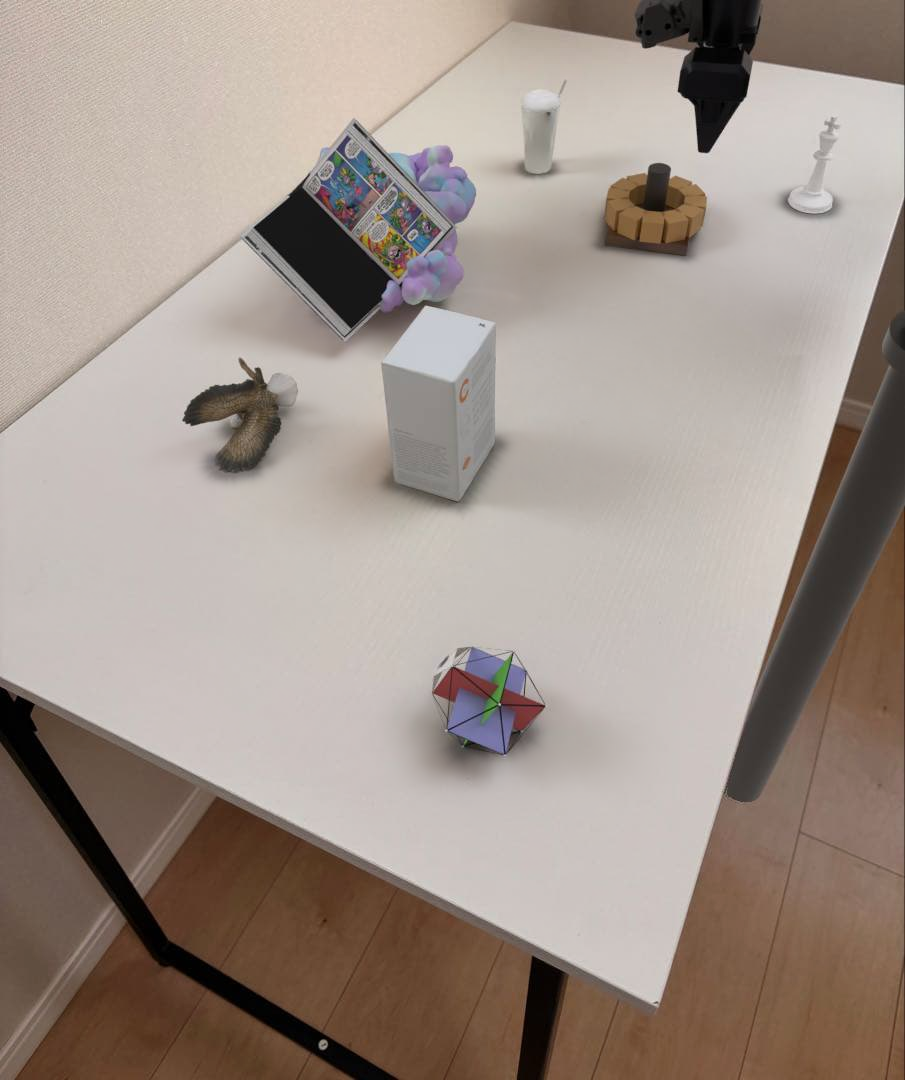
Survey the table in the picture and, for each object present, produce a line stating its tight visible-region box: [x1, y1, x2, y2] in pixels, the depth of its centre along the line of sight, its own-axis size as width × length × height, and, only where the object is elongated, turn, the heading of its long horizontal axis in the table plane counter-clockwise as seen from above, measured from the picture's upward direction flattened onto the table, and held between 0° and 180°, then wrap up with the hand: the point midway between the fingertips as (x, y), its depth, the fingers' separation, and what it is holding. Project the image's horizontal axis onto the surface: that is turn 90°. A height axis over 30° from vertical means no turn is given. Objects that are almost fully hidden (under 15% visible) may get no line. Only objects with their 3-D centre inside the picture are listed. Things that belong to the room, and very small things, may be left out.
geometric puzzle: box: [430, 645, 548, 758], centre depth 62 cm, size 7×7×8 cm
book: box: [239, 117, 477, 343], centre depth 94 cm, size 20×22×18 cm
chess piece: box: [787, 115, 841, 215], centre depth 105 cm, size 5×5×10 cm
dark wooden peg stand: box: [603, 162, 691, 256], centre depth 103 cm, size 9×9×7 cm
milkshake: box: [520, 79, 567, 175], centre depth 112 cm, size 5×5×10 cm
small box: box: [380, 305, 497, 502], centre depth 77 cm, size 8×6×13 cm
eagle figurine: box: [182, 357, 299, 473], centre depth 82 cm, size 8×7×9 cm
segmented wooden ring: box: [604, 172, 708, 244], centre depth 104 cm, size 11×11×2 cm
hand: (708, 131), depth 97 cm, fingers open, 9 cm apart
